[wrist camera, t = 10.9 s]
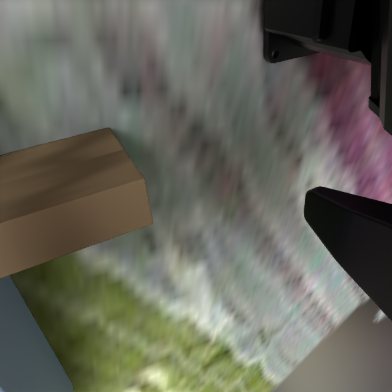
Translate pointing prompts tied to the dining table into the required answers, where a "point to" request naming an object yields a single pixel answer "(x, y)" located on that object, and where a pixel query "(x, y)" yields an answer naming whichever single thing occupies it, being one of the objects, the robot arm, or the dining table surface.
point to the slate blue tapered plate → (25, 348)
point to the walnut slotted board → (67, 199)
